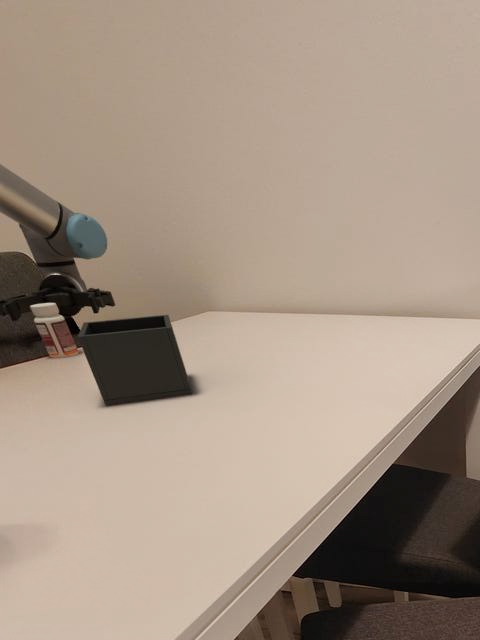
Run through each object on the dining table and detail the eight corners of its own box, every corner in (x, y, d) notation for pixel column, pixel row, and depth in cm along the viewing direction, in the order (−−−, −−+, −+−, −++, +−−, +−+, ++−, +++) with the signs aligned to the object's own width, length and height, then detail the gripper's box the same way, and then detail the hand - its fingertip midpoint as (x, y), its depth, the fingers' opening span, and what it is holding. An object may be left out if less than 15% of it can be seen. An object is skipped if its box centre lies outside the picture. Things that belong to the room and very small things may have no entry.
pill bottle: (80, 352, 111) (59, 301, 105) (78, 357, 107) (57, 305, 102) (51, 355, 109) (28, 304, 104) (49, 360, 106) (25, 307, 100)
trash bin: (106, 408, 81) (77, 336, 76) (109, 388, 90) (83, 322, 84) (193, 396, 85) (171, 327, 80) (188, 378, 93) (168, 314, 88)
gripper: (133, 308, 132) (133, 324, 116) (4, 320, 124) (-15, 338, 108) (119, 269, 127) (117, 280, 112) (-16, 279, 119) (-38, 292, 104)
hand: (52, 309), depth 110 cm, fingers open, 13 cm apart
